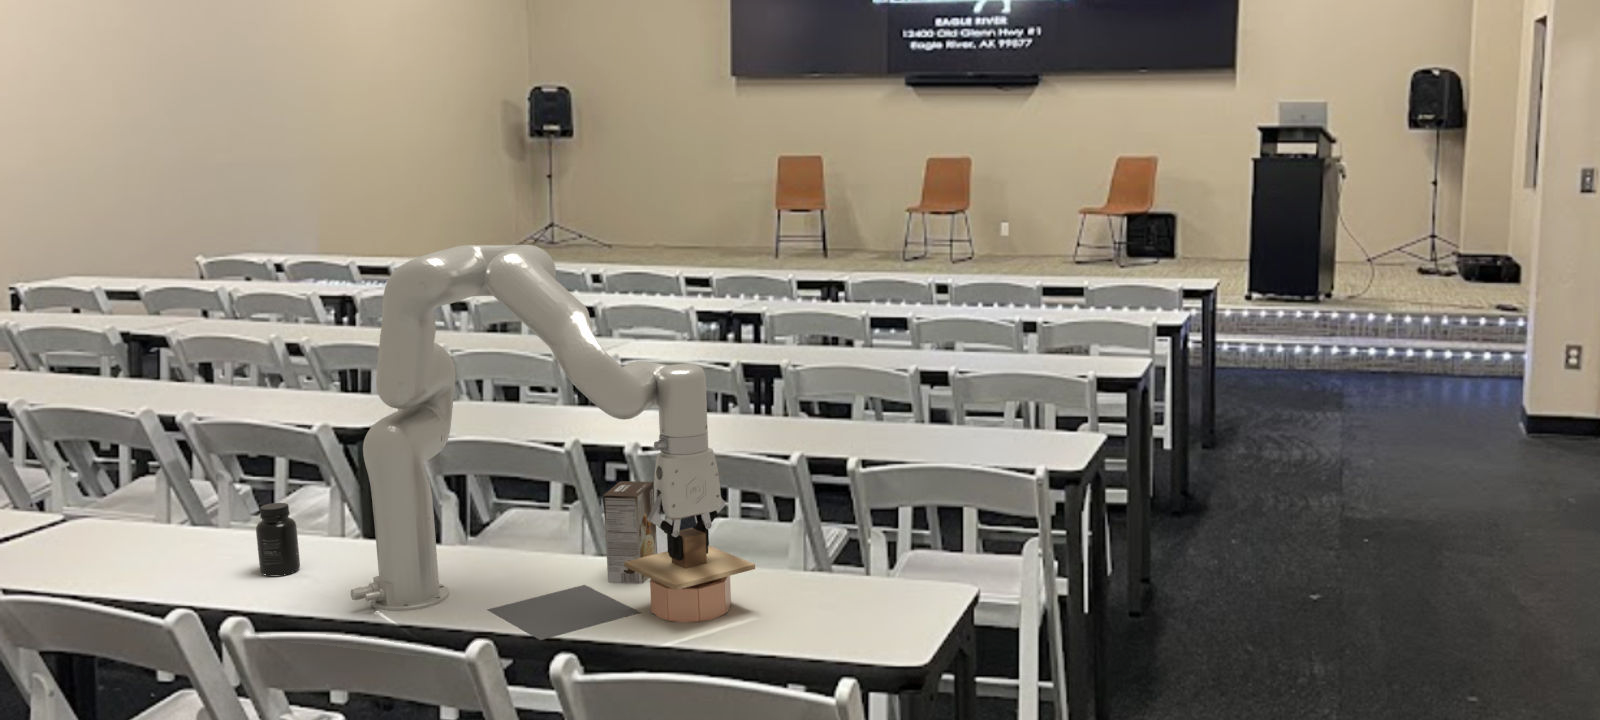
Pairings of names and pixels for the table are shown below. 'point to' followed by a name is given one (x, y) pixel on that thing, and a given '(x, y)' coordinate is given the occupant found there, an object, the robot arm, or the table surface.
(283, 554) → the supplement bottle
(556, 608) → the mat
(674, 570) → the lid
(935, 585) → the table surface
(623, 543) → the coffee box
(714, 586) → the bowl
